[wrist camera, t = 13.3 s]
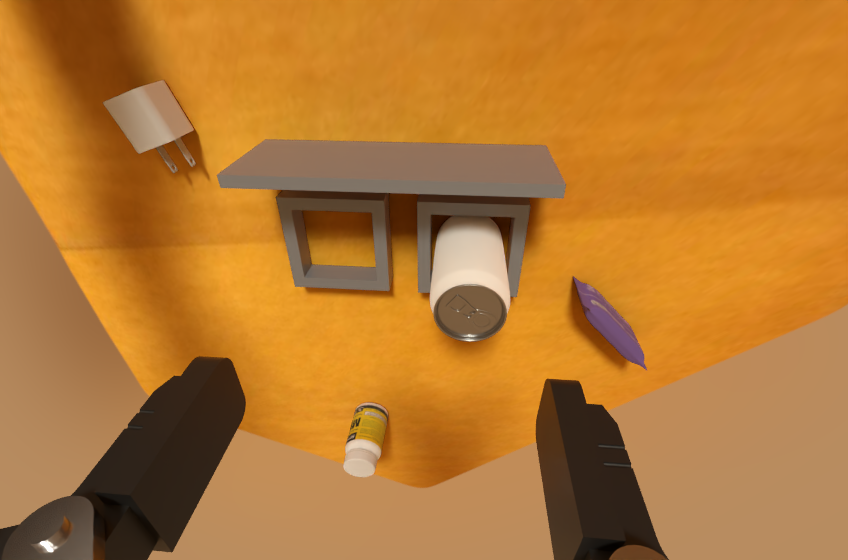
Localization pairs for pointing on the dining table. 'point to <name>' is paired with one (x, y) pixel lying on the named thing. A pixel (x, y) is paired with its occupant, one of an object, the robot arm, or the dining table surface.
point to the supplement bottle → (365, 439)
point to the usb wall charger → (151, 119)
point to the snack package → (609, 323)
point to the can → (469, 279)
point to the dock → (395, 173)
